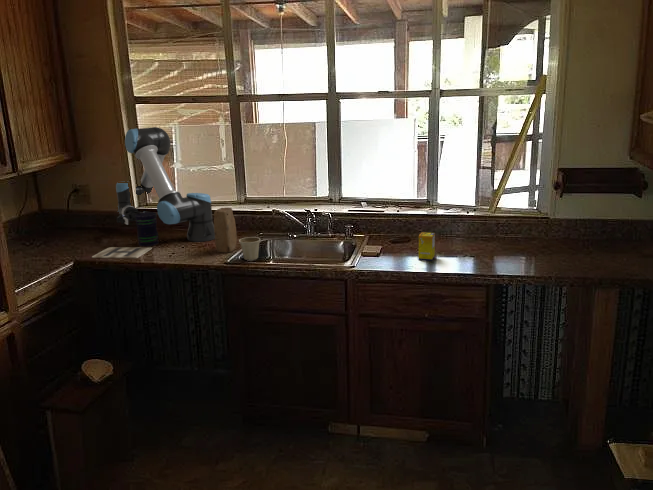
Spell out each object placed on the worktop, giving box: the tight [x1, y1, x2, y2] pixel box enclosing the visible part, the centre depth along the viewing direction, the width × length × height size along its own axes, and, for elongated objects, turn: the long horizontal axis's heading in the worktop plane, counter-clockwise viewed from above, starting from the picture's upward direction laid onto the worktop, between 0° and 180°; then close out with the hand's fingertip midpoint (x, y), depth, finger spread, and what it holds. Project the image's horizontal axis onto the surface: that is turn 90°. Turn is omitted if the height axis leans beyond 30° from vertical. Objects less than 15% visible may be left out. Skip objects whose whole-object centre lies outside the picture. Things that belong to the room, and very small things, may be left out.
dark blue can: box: [135, 211, 160, 247], centre depth 286 cm, size 10×10×15 cm
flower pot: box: [238, 236, 261, 261], centre depth 255 cm, size 9×9×9 cm
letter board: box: [91, 246, 153, 259], centre depth 271 cm, size 22×16×1 cm
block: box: [213, 207, 238, 254], centre depth 268 cm, size 11×8×20 cm
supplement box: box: [417, 231, 436, 262], centre depth 246 cm, size 6×6×11 cm
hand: (141, 220), depth 293 cm, fingers open, 13 cm apart
